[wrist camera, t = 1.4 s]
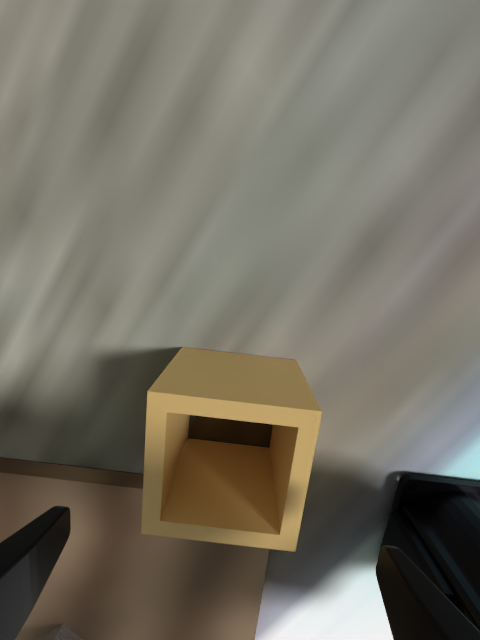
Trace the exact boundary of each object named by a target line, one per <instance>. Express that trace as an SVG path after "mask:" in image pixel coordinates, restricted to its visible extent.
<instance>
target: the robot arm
mask: <svg viewBox="0 0 480 640" xmlns="http://www.w3.org/2000/svg"><path fill="white" fill-rule="evenodd" d="M411 483H412V484H411ZM409 484H411V485H409ZM70 531H71V519H70V509H69V507H64V506H54V507H52V508H50V509H49V510H47V511H46V512H44V513H43V514H41V515H40V516H38V517H37V518H36V519H34V520H33V521H31V522H30V523H28V524H27V525H25V526H24V527H22V528H21V529H19V530H18V531H16V532H15V533H14V534H12V535H11V536H9V537H8V538H6V539H5V540H3V541H2V542H0V640H15V639H16V637H17V635H18V634H19V632H20V630H21V629H22V627H23V625H24V624H25V622H26V620H27V619H28V617H29V615H30V613H31V612H32V610H33V608H34V606H35V604H36V602H37V600H38V598H39V596H40V594H41V592H42V590H43V588H44V586H45V584H46V582H47V580H48V578H49V576H50V574H51V572H52V570H53V568H54V566H55V565H56V563H57V561H58V559H59V557H60V555H61V553H62V551H63V549H64V547H65V545H66V543H67V541H68V538H69V535H70ZM376 576H377V580H378V584H379V588H380V591H381V595H382V599H383V602H384V606H385V609H386V613H387V617H388V620H389V624H390V628H391V631H392V635H393V639H394V640H480V482H477V481H468V480H460V479H451V478H443V477H434V476H425V475H417V474H406V475H403V476H402V477H401V478H400V480H399V484H398V488H397V491H396V495H395V499H394V502H393V506H392V510H391V513H390V515H389V519H388V522H387V526H386V530H385V533H384V537H383V541H382V544H381V550H380V553H379V557H378V562H377V565H376Z"/></svg>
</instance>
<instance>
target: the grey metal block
mask: <svg viewBox="0 0 480 640" xmlns="http://www.w3.org/2000/svg"><path fill="white" fill-rule="evenodd" d="M38 640H83V639H81V638H80V637H79V636H78V635H77V634H75V633H74V632H73V631H72V630H71V629H70V628H68V627H67V626H66V625H65V624H64V623H63V624H61V625H60V626H58V627H57V628H55V629H53V630H52V631H50V632H49V633H47V634H46V635H44V636H43V637H41V638H40V639H38Z"/></svg>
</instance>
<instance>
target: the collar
mask: <svg viewBox="0 0 480 640" xmlns="http://www.w3.org/2000/svg"><path fill="white" fill-rule="evenodd" d="M190 415H195V416H204V417H213V418H221V419H230V420H238V421H247V422H256V423H264V424H273V427H272V434H271V440H270V447H269V448H267V447H259V446H250V445H242V444H233V443H224V442H216V441H207V440H199V439H190V438H188V432H189V420H190ZM321 416H322V410H321V408H320V406H319V404H318V402H317V400H316V398H315V396H314V394H313V392H312V390H311V388H310V386H309V384H308V382H307V380H306V378H305V376H304V375H303V373H302V371H301V369H300V367H299V365H298V363H297V361H296V360H290V359H281V358H272V357H264V356H255V355H246V354H238V353H229V352H220V351H212V350H203V349H194V348H186V347H182V348H181V349H180V350H179V352H178V353H177V354H176V355H175V357H174V358H173V359H172V360H171V362H170V363H169V364H168V366H167V367H166V368H165V369H164V371H163V372H162V373H161V375H160V376H159V377H158V378H157V380H156V381H155V382H154V384H153V385H152V386H151V387H150V389H149V390H148V391H147V412H146V434H145V457H144V479H143V502H142V524H141V534H147V535H156V536H164V537H173V538H181V539H190V540H198V541H207V542H215V543H224V544H232V545H241V546H250V547H258V548H267V549H275V550H284V551H292V552H295V551H296V546H297V540H298V535H299V530H300V525H301V520H302V514H303V509H304V504H305V499H306V494H307V488H308V483H309V478H310V473H311V468H312V462H313V457H314V452H315V447H316V442H317V436H318V431H319V426H320V421H321Z"/></svg>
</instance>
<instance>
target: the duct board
mask: <svg viewBox="0 0 480 640" xmlns="http://www.w3.org/2000/svg"><path fill="white" fill-rule="evenodd" d="M143 479H144V474H135V473H127V472H118V471H110V470H101V469H92V468H84V467H75V466H67V465H58V464H50V463H41V462H32V461H24V460H15V459H7V458H0V542H2V541H3V540H5V539H6V538H8V537H9V536H11V535H12V534H14V533H15V532H16V531H18V530H19V529H21V528H22V527H24V526H25V525H27V524H28V523H30V522H31V521H33V520H34V519H36V518H37V517H38V516H40V515H41V514H43V513H44V512H46V511H47V510H49V509H50V508H52V507H54V506H64V507H69V509H70V519H71V531H70V535H69V538H68V541H67V543H66V545H65V547H64V549H63V551H62V553H61V555H60V557H59V559H58V561H57V563H56V565H55V566H54V568H53V570H52V572H51V574H50V576H49V578H48V580H47V582H46V584H45V586H44V588H43V590H42V592H41V594H40V596H39V598H38V600H37V602H36V604H35V606H34V608H33V610H32V612H31V613H30V615H29V617H28V619H27V620H26V622H25V624H24V625H23V627H22V629H21V630H20V632H19V634H18V635H17V637H16V639H15V640H38V639H40V638H41V637H43V636H44V635H46V634H47V633H49V632H50V631H52V630H53V629H55V628H57V627H58V626H60V625H61V624H63V623H64V624H65V625H66V626H67V627H68V628H70V629H71V630H72V631H73V632H74V633H75V634H77V635H78V636H79V637H80V638H81V639H83V640H254V639H255V633H256V627H257V621H258V615H259V609H260V603H261V597H262V591H263V585H264V579H265V573H266V567H267V561H268V555H269V549H267V548H258V547H250V546H241V545H232V544H224V543H215V542H207V541H198V540H190V539H181V538H173V537H164V536H156V535H147V534H141V524H142V502H143Z"/></svg>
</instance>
